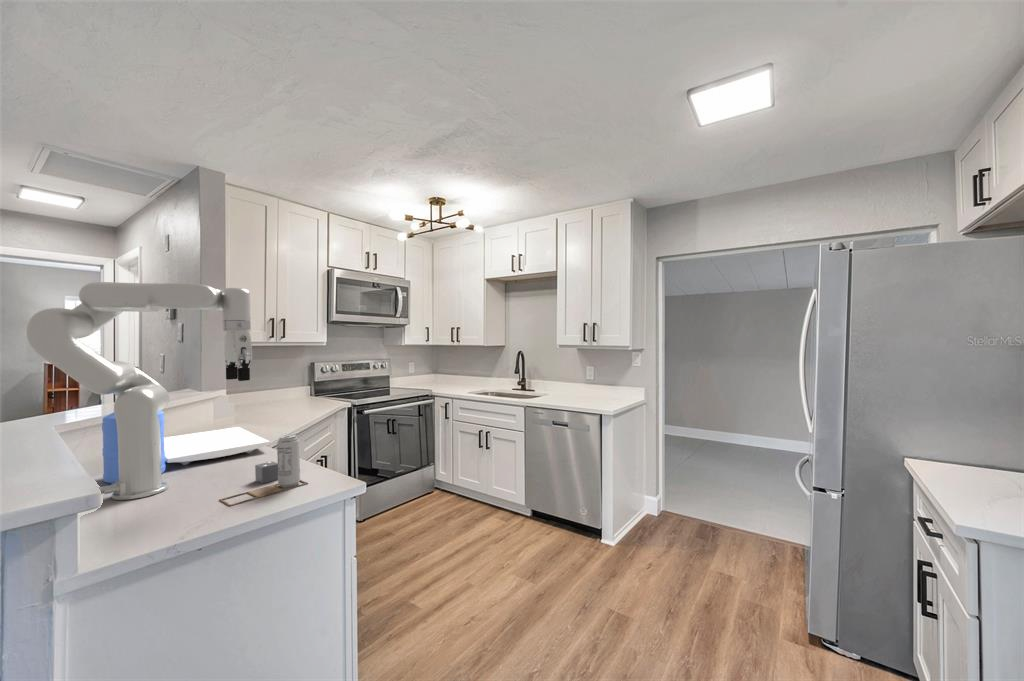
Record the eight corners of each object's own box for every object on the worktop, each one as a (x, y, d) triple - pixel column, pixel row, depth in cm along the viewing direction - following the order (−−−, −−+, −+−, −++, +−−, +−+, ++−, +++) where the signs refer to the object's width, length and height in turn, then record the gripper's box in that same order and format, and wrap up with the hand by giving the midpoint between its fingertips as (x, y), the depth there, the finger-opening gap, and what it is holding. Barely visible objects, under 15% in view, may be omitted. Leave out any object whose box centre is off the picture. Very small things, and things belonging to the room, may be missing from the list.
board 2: (229, 506, 113) (229, 505, 113) (219, 500, 118) (219, 499, 118) (308, 483, 130) (308, 482, 130) (296, 479, 135) (296, 478, 135)
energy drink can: (304, 482, 131) (303, 434, 131) (287, 489, 126) (286, 439, 126) (290, 480, 134) (289, 433, 134) (273, 487, 128) (272, 437, 128)
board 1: (150, 450, 177) (150, 439, 177) (238, 436, 200) (238, 426, 200) (167, 472, 146) (167, 459, 146) (270, 453, 169) (269, 441, 169)
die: (262, 483, 131) (262, 467, 131) (255, 480, 134) (255, 464, 134) (279, 479, 135) (278, 463, 135) (272, 476, 138) (271, 460, 138)
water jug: (147, 482, 135) (145, 395, 135) (89, 486, 132) (87, 397, 132) (175, 467, 150) (174, 389, 150) (124, 471, 147) (122, 391, 147)
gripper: (261, 326, 133) (261, 380, 133) (239, 327, 144) (240, 377, 144) (234, 325, 127) (235, 382, 127) (213, 327, 138) (214, 379, 138)
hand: (237, 379), depth 135 cm, fingers open, 9 cm apart
